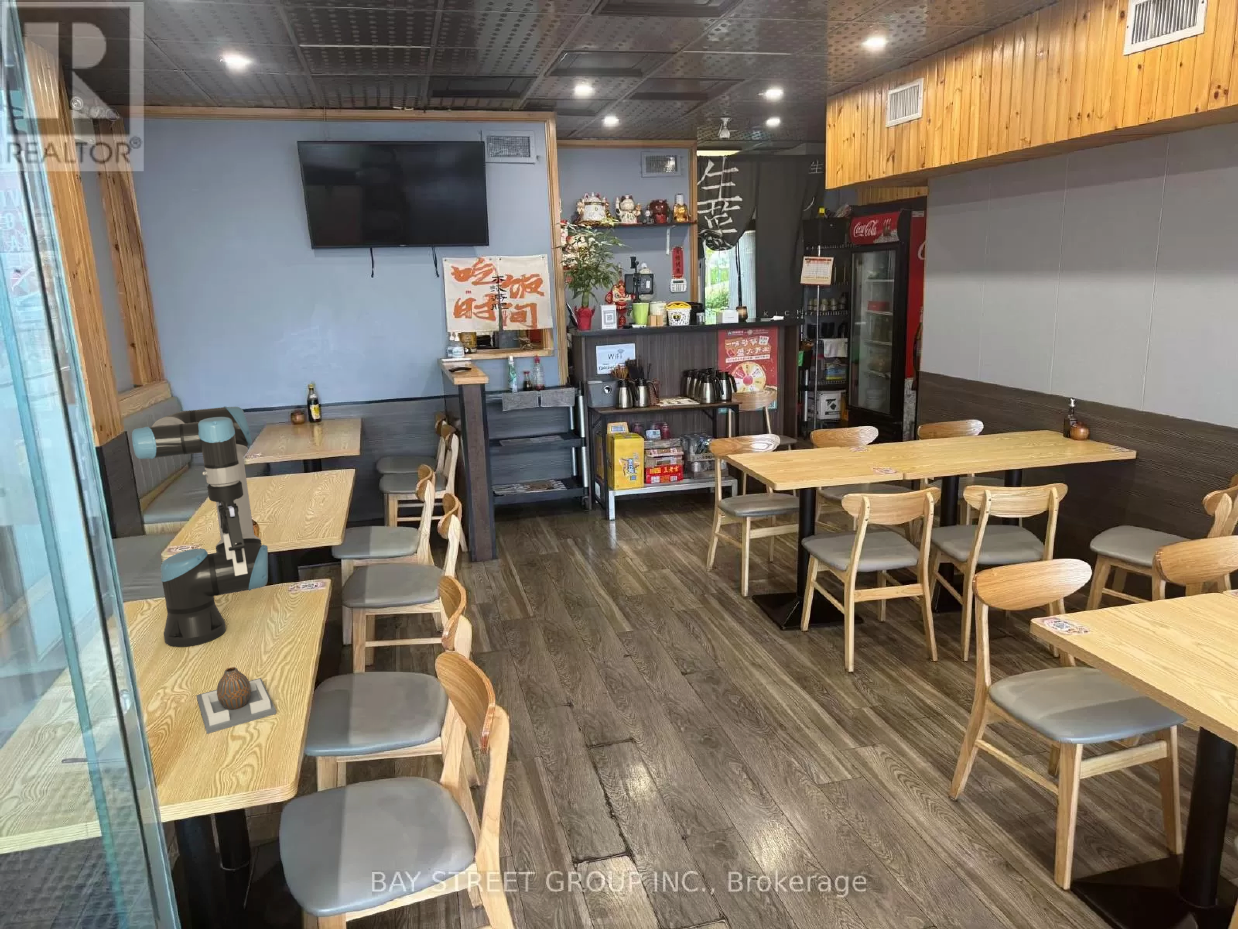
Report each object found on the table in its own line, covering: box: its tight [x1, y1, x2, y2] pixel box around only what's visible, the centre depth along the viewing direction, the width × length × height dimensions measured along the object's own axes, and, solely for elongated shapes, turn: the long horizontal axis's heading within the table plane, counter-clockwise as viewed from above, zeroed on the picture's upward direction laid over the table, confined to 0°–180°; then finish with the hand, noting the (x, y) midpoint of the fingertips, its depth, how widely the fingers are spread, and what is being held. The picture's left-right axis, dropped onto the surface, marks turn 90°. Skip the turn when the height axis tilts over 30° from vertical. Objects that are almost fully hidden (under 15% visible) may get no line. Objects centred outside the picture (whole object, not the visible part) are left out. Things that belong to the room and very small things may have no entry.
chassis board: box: [196, 677, 277, 735], centre depth 188 cm, size 18×14×3 cm
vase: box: [216, 666, 251, 710], centre depth 186 cm, size 7×7×9 cm
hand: (236, 566), depth 204 cm, fingers open, 13 cm apart
